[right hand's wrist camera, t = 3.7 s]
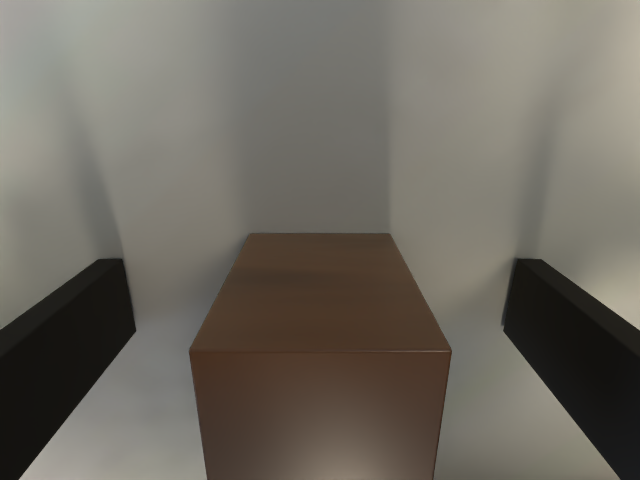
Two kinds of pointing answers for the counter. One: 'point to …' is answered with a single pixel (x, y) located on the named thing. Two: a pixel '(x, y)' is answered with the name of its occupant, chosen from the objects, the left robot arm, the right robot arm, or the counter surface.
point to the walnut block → (320, 364)
